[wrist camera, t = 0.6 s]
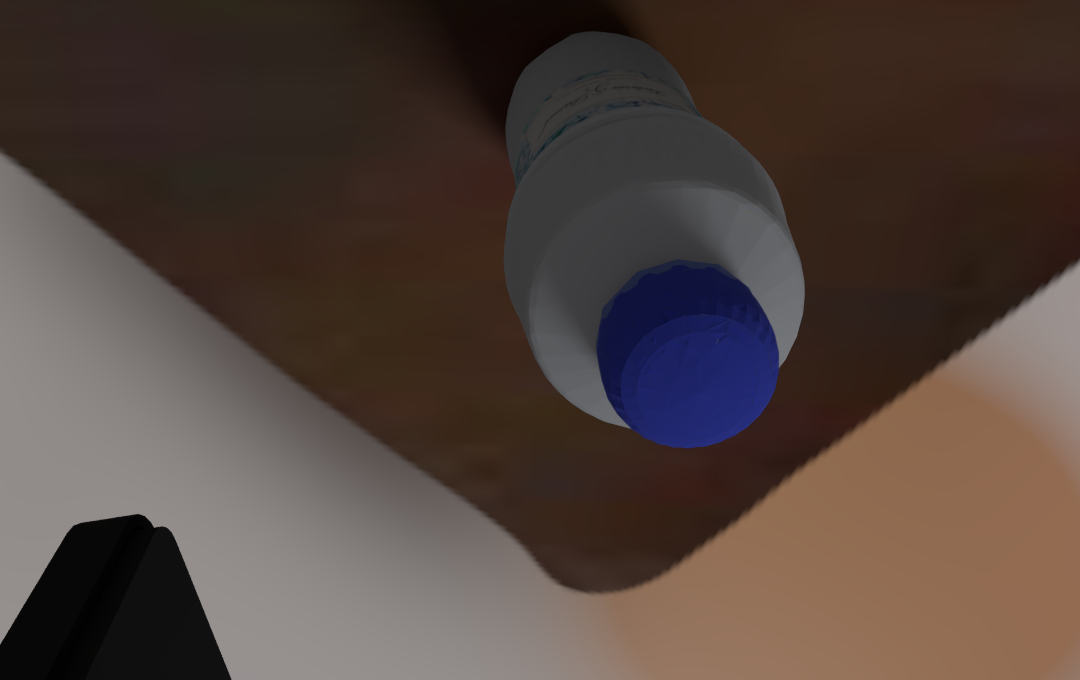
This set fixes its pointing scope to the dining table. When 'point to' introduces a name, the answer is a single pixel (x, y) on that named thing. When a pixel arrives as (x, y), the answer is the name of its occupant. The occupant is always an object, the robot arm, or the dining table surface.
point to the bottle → (644, 246)
